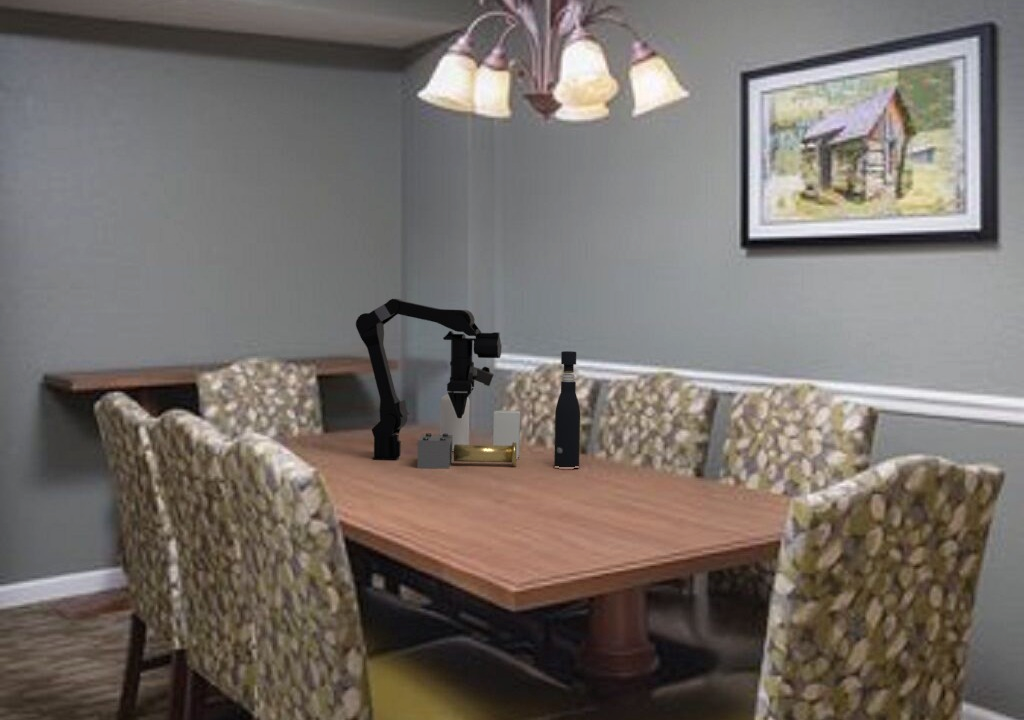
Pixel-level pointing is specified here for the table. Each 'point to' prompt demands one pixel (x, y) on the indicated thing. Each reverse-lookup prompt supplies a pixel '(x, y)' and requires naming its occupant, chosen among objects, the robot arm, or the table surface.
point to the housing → (435, 451)
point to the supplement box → (506, 428)
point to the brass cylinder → (485, 453)
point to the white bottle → (454, 421)
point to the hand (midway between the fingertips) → (460, 416)
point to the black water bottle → (567, 417)
